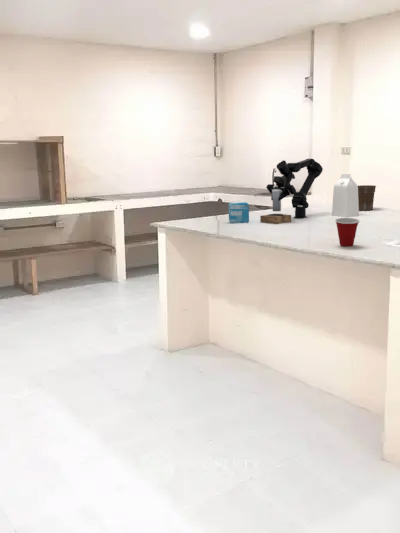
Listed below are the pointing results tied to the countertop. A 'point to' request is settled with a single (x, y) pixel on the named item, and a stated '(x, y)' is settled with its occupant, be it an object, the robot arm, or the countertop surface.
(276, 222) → the stand
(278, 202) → the grey bottle
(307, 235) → the countertop surface
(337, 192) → the milk
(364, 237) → the countertop surface
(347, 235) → the plastic cup
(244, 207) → the data package
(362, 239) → the countertop surface
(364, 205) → the plant pot
